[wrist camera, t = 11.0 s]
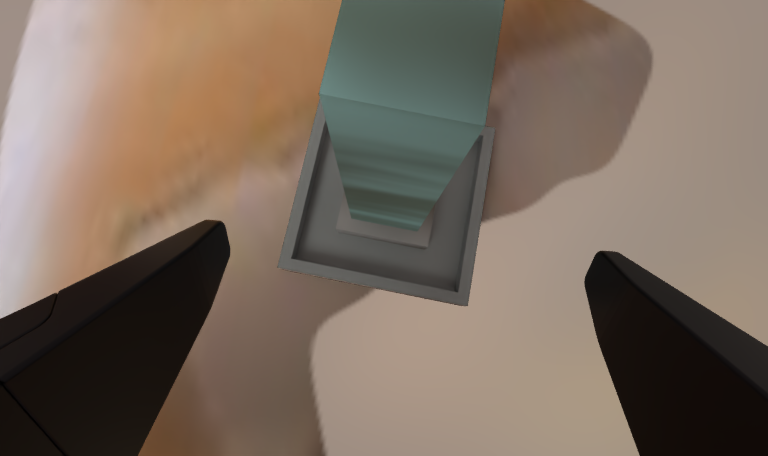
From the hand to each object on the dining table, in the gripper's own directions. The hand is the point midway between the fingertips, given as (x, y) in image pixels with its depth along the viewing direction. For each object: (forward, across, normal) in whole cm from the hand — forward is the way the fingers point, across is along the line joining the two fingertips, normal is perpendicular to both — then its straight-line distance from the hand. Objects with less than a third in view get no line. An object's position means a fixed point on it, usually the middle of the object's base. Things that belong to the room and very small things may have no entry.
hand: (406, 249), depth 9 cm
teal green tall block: (+12, +1, +6) cm, 13 cm away
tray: (+12, +1, +6) cm, 14 cm away
